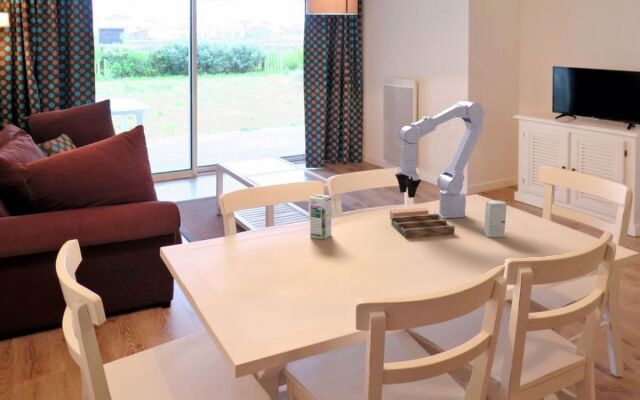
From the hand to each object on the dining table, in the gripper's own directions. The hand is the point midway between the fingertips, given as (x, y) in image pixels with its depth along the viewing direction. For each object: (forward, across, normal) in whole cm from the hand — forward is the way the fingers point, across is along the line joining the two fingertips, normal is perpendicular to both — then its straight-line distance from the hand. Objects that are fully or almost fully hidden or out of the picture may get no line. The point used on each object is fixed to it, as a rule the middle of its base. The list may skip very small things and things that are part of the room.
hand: (407, 194), depth 244 cm
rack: (+10, +13, +1) cm, 16 cm away
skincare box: (+10, +26, +22) cm, 35 cm away
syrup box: (+10, +9, -36) cm, 39 cm away
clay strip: (+10, -1, +2) cm, 10 cm away
